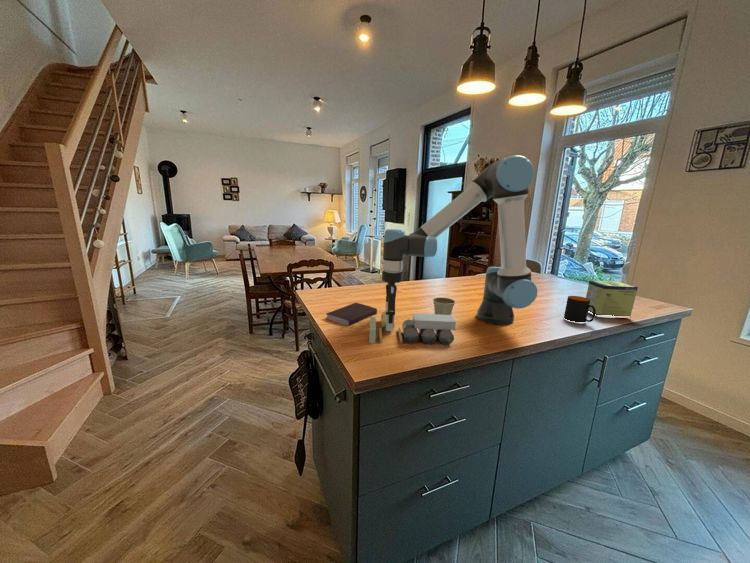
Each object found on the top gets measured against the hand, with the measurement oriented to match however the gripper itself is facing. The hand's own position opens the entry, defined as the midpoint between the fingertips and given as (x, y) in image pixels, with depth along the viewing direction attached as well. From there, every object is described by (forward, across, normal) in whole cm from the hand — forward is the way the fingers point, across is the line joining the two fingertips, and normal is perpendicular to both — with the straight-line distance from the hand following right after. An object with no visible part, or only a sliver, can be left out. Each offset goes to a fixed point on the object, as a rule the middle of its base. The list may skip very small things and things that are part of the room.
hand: (389, 324), depth 118 cm
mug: (+1, -14, +84) cm, 85 cm away
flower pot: (+1, -10, +23) cm, 25 cm away
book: (+2, -10, -15) cm, 18 cm away
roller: (+1, 0, 0) cm, 1 cm away
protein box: (+1, -26, +105) cm, 108 cm away
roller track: (+1, +10, +9) cm, 13 cm away
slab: (-4, +10, +15) cm, 19 cm away
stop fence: (+1, +10, -6) cm, 12 cm away
